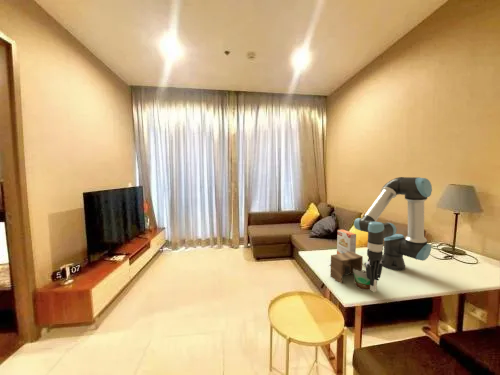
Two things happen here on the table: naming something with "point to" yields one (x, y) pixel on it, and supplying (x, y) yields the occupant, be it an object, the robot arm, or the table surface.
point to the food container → (361, 279)
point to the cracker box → (346, 241)
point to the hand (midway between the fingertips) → (373, 290)
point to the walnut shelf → (345, 264)
